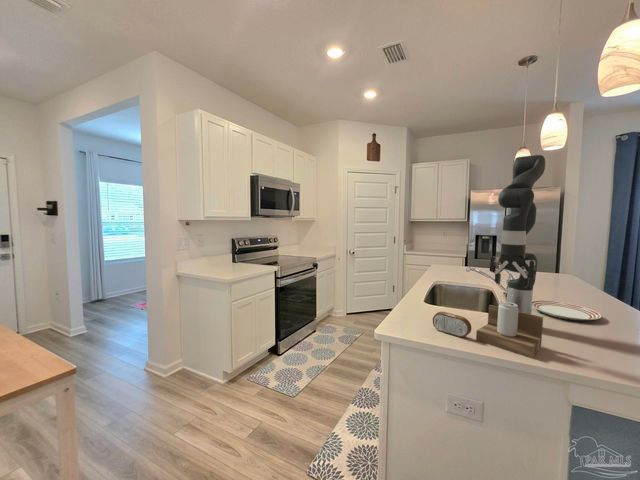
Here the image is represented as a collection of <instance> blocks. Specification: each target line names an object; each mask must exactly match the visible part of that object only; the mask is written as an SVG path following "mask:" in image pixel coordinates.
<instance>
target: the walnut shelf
mask: <svg viewBox="0 0 640 480" xmlns="http://www.w3.org/2000/svg"><path fill="white" fill-rule="evenodd" d="M497 322H498V306H496V305H492V304H488V313H487V324H485V325H484V326H482V327H480V328H479V329H476V335H475V336H476V338H475V341H477V342H480V343H484V344H487V345H490V346H493V347H496V348H499V349H502V350H505V351H507V352H511V353H514V354H517V355H519V356H523V357H527V358H528V359H529V358H530V359H532V358H533V357H534V356H535V355H536V354H537V353H538V352H539V351H540V350H541V349H542V336H543V325H544V316H540V315H536V314H532V313H531V314H528V313H523V312H518V327H517V335H516V336H514V337H506V336H503V335H500V334H499V333H498V332H497Z"/></svg>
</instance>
